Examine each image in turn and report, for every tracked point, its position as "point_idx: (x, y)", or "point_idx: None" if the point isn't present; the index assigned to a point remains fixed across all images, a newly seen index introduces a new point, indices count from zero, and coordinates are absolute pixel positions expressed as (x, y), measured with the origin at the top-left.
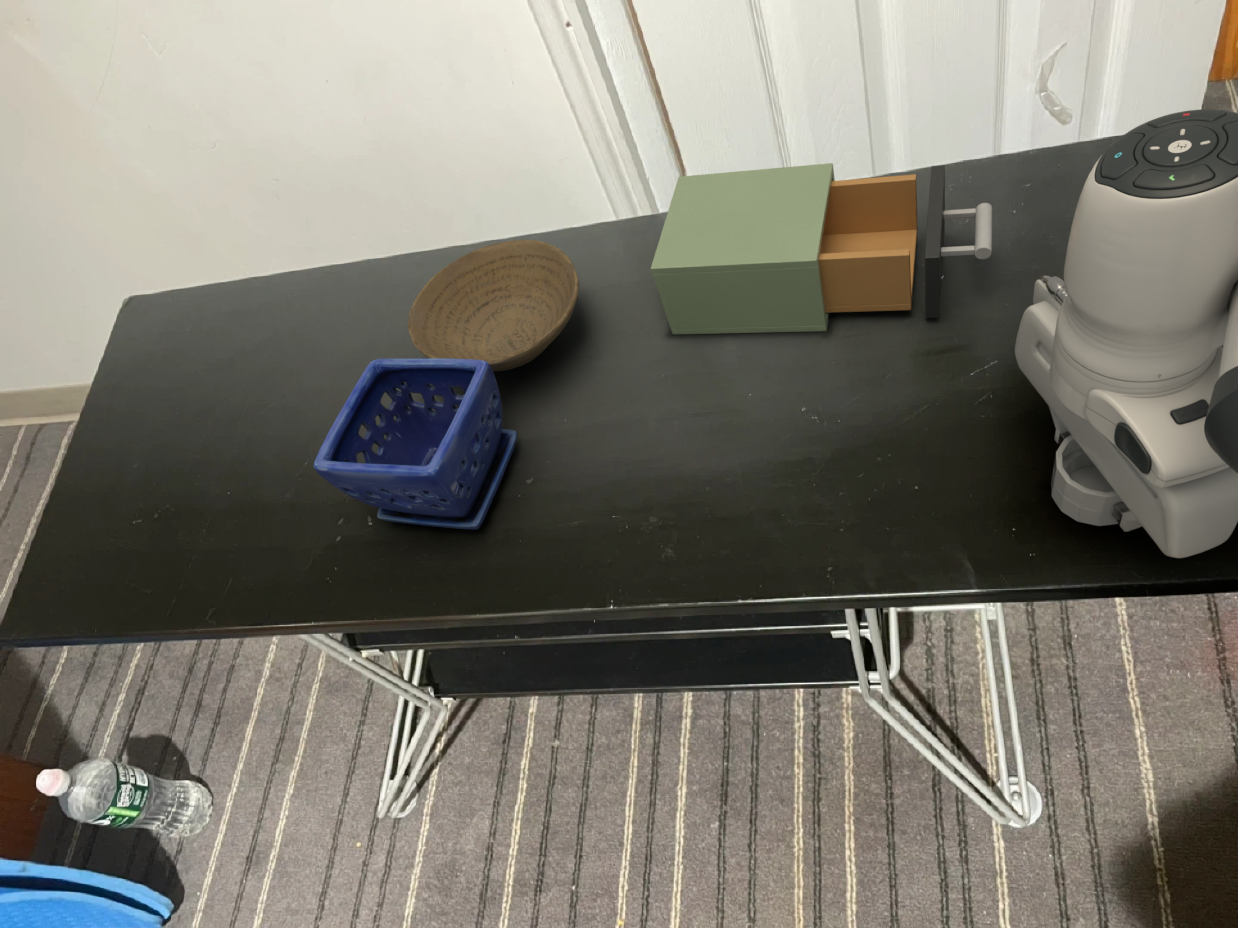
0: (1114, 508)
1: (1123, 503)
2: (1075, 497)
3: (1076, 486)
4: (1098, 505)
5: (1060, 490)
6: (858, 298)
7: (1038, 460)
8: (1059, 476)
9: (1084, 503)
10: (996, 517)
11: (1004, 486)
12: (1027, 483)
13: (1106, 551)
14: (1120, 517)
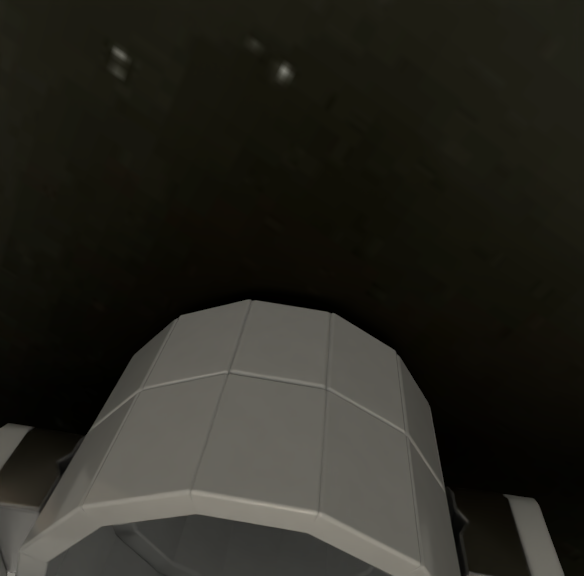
0: (48, 488)
1: None
2: (156, 423)
3: (137, 504)
4: (78, 460)
5: (261, 386)
6: None
7: (523, 368)
8: (280, 465)
9: (117, 426)
10: (391, 37)
11: (518, 187)
12: (461, 275)
13: (51, 310)
14: (4, 475)
